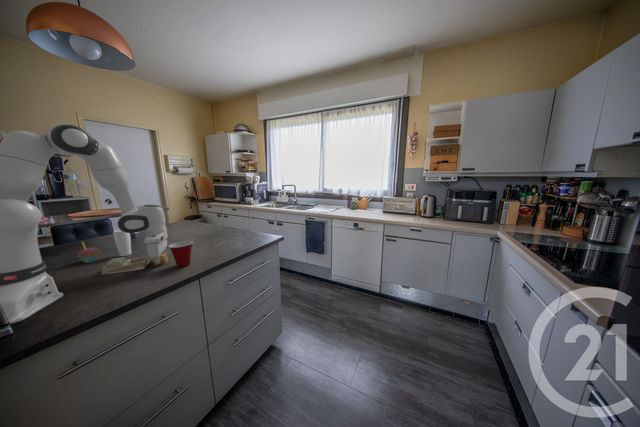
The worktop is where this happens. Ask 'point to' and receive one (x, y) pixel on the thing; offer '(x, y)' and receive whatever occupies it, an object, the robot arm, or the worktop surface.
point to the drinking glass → (123, 242)
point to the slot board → (124, 265)
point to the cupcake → (88, 254)
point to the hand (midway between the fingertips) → (160, 259)
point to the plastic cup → (181, 252)
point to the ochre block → (163, 259)
